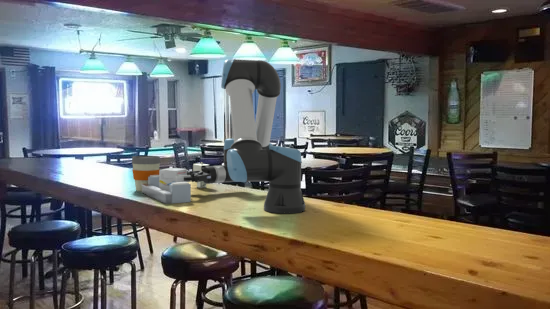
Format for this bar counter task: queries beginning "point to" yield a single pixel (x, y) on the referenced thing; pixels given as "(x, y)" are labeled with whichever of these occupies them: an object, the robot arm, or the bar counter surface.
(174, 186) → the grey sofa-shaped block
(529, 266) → the bar counter surface
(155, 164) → the reusable coffee cup
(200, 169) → the pneumatic valve
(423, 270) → the bar counter surface
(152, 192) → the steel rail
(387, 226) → the bar counter surface
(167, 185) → the ink box
